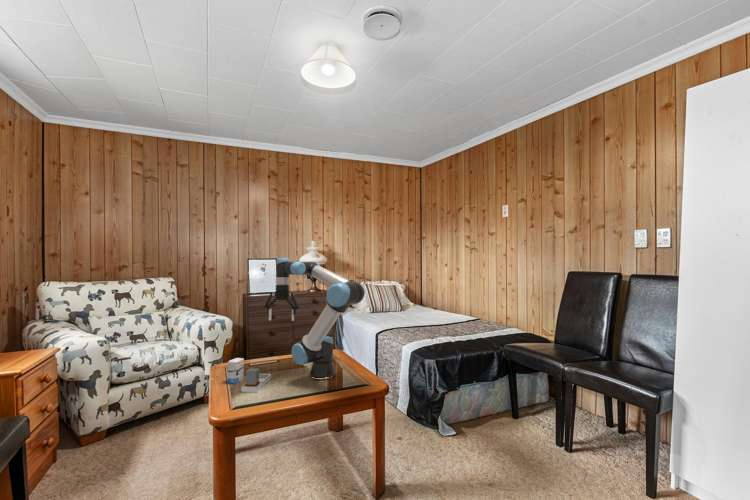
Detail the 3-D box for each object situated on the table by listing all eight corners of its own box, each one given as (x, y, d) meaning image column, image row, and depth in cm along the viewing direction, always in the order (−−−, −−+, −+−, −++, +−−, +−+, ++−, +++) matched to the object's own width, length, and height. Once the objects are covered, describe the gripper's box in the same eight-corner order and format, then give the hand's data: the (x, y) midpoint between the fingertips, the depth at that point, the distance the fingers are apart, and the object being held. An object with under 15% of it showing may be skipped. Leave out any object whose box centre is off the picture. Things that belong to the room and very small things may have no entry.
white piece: (271, 378, 205) (271, 373, 205) (256, 392, 183) (256, 387, 183) (257, 378, 205) (257, 373, 205) (241, 391, 183) (241, 386, 183)
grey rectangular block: (258, 387, 190) (259, 368, 190) (255, 391, 185) (255, 371, 185) (249, 387, 190) (250, 368, 191) (245, 390, 185) (246, 371, 186)
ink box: (235, 384, 195) (235, 362, 195) (226, 383, 196) (227, 361, 196) (243, 379, 203) (244, 358, 203) (235, 378, 204) (236, 357, 204)
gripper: (304, 284, 217) (303, 319, 216) (263, 283, 218) (262, 318, 217) (301, 285, 209) (300, 321, 209) (259, 284, 210) (258, 320, 210)
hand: (281, 320), depth 213 cm, fingers open, 13 cm apart
